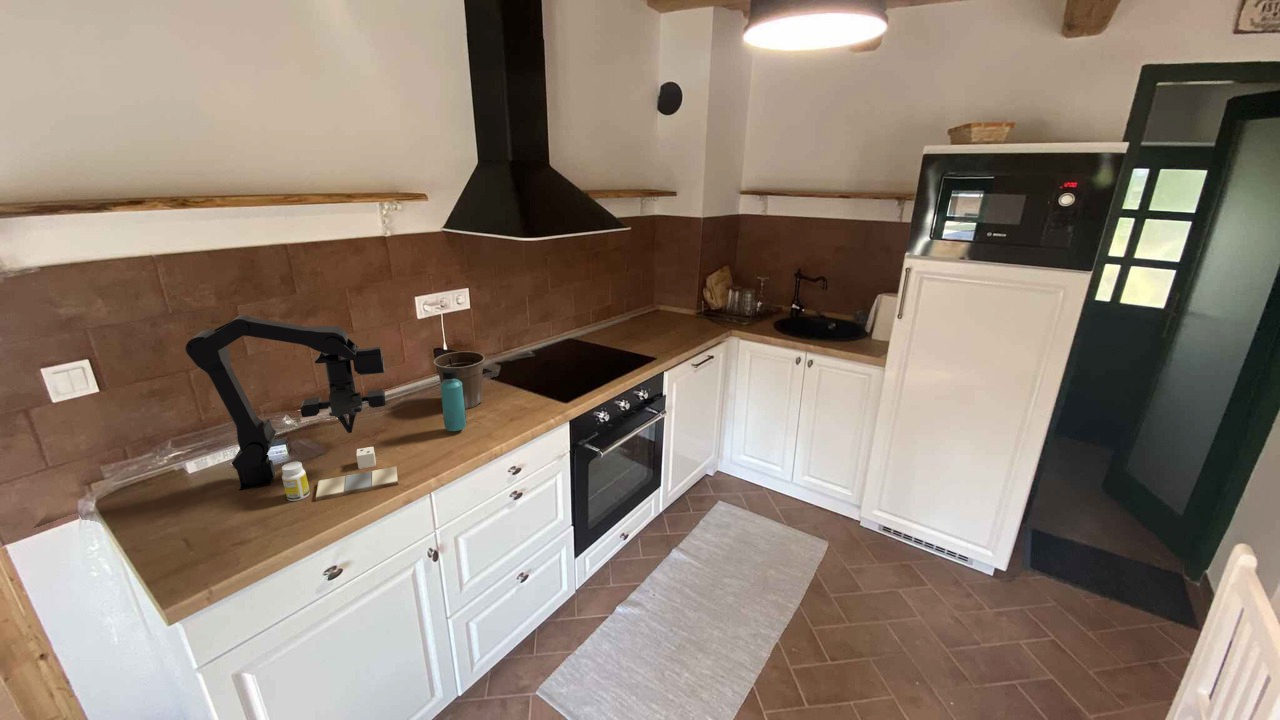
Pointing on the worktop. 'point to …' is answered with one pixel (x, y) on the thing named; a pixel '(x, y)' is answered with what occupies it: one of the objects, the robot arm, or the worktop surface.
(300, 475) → the supplement bottle
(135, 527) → the worktop surface
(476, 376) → the plant pot
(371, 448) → the die
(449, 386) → the beverage bottle
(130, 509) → the worktop surface
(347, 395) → the robot arm
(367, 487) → the board
